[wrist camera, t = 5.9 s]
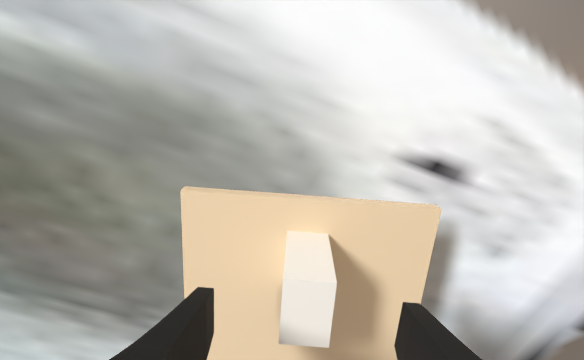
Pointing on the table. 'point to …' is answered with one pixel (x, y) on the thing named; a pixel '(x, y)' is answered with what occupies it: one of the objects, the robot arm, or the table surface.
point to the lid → (305, 271)
